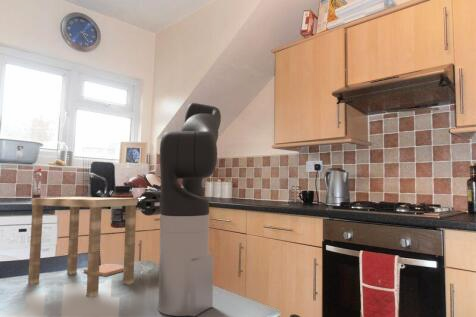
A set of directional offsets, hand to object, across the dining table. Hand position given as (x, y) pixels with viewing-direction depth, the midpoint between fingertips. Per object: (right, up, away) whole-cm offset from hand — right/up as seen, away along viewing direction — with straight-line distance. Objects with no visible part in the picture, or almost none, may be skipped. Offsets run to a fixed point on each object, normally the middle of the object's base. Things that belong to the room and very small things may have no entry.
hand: (115, 205), depth 90 cm
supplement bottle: (+1, -6, +2) cm, 7 cm away
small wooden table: (-4, -17, -12) cm, 21 cm away
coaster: (-2, -18, 0) cm, 18 cm away
